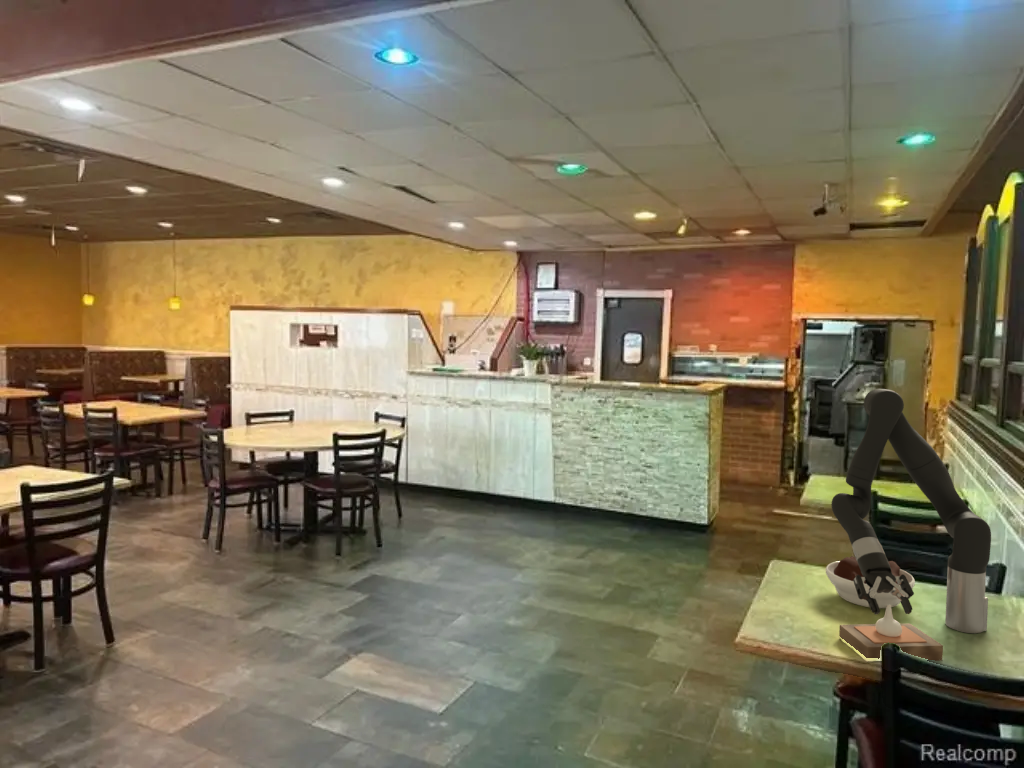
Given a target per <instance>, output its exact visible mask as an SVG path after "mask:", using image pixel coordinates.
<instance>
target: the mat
mask: <svg viewBox="0 0 1024 768" xmlns="http://www.w3.org/2000/svg"><path fill="white" fill-rule="evenodd" d="M901 627H902V634H901V635H900V636H898V637H888V636H884V635H882V634H880V633H878V632H877V630H876V627H875V626H854V628H855V629H857V630H858V631H859V632H860V633H862V634H863V635H864V636H866V637H867V638H868V639H869V640H871V641H872V642H873V643H888V642H889V643H925V642H927V641H926V640H924V639H923V638H921V637H920V636H918V635H917V634H915V633H914V632H912V631H911V630H910V629H908V628H907V627H905V626H901Z"/></svg>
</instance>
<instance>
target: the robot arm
mask: <svg viewBox="0 0 1024 768" xmlns="http://www.w3.org/2000/svg"><path fill="white" fill-rule="evenodd" d="M904 406H905V403H904V399H903V398H902V396H901V395H900V394H899V393H897V392H896V391H895V390H892V389H885V388H875V389H872V390H870V391H868V392H867V393H866V394H865V396H864V399H863V408H864V411H865V412H866V414H867V415H868V423H867V426H866V430H865V433H864V435H863V437H862V439H861V441H860V443H859V445H858V446H857V449H856V450H855V451H854V454H853V455H852V458H851V461H850V465H849V466H848V470H847V474H846V477H845V483H846V484H847V485H848V486H850V487H852V491H853V492H852V494H850V493H846V492H845V493H844V492H840V493H836V494H835V495H834V496H833V498H832V499H831V504H830V505H831V510H832V513H833V515H834V517H835V518H836V520H837V521H838V523H839V524H840V525H841V528H843V530H844V531H845V532H846V534H847V536H848V540H849V542H850V543H851V547H852V551H853V554H854V557H855V558H856V560H857V562H858V565H859V568H860V570H861V573H862V575H863V576H864V577H861V576H860V575H857V576H856V577H855V578H854V579H853V581H854V585H855V588H856V591H857V594H858V597H859V599H861V600H862V599H864V600H866V601H868V604H869V606H870V607H869V609H870V610H871V613H873V615H874V616H875V615H879V614H880V613H881V608H879V606H878V604H877V601H876V599H875V598H874V596H875V593H876V592H877V593H882V592H884V593H889V592H890V593H891V594H892V595H894V596H896V597H897V598H899V599H900V600H901V601H900V604H901V607H902V609H903V612H904V613H905V615H910V614H911V613H912V611H913V606H912V604H911V601H910V599H911V597H913V596H914V594H915V593H914V590H913V589H912V588H911V586H910V584H909V582H908V580H907V578H906V576H905V575H903V574H902V575H901V576H896V577H895V576H894V575H893V574H892V572H891V567H890V565H889V562H888V561H889V559H888V558H887V556H886V553H885V551H884V549H883V545H882V544H881V542H880V541H879V539H878V537H877V534H876V531H875V529H874V527H873V526H872V524H871V523H870V522H868V521H867V520H864V519H865V518H867V516H868V515H869V513H870V510H871V507H872V506H871V505H872V485H873V482H874V479H875V475H876V473H877V470H878V467H879V463H880V460H881V457H882V455H883V452H884V450H885V447H886V444H887V442H889V443H890V445H891V447H892V449H893V450H894V452H895V454H896V456H897V457H898V458H899V460H900V462H901V463H902V465H903V466H904V467H903V468H904V469H905V470H906V472H907V473H908V475H909V476H910V478H911V479H912V480H913V481H914V483H915V484H916V486H917V487H918V488H919V490H920V491H921V492H922V494H923V495H924V496H925V497H926V498H927V499H928V501H929V502H930V503H931V504H932V506H933V507H934V509H935V510H936V512H937V514H938V516H939V518H940V520H941V522H942V524H943V526H944V527H945V530H946V532H947V534H948V535H949V536H950V537H951V538H952V541H953V542H952V553H951V554H950V555H949V556H948V558H947V575H946V579H947V580H946V596H945V597H946V598H945V599H946V600H945V625H946V626H947V627H949V629H953V630H954V631H955V630H956V631H958V632H962V633H967V634H981V633H983V632H986V631H987V630H988V612H989V611H988V610H989V609H988V608H989V598H988V597H987V596H986V579H987V577H986V575H987V566H988V564H989V563H990V555H991V546H992V531H991V527H990V526H989V524H988V522H987V521H986V520H985V519H983V518H981V517H980V516H979V515H976V514H975V512H973V511H972V510H971V509H970V507H969V506H968V505H967V504H966V502H965V501H964V500H963V499H962V498H961V496H960V495H959V494H958V492H957V490H956V488H955V486H954V483H953V480H952V478H951V475H950V473H949V471H948V468H947V467H946V465H945V463H944V462H943V460H942V459H941V457H940V456H939V454H938V453H937V451H935V449H934V448H933V447H932V445H931V444H929V443H928V441H927V440H926V439H925V438H924V437H923V436H922V435H920V433H919V432H918V431H917V430H916V429H915V428H914V427H913V426H912V425H911V424H910V423H909V421H908V419H907V418H906V416H905V413H903V411H904ZM864 582H865V583H866V584H867V585H868V586H869V587H870V588H869V590H868V593H866V590H865V587H864ZM895 582H897V583H898V584H896V583H895ZM899 585H900V586H899ZM893 588H895V589H896V590H893Z"/></svg>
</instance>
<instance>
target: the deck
mask: <svg viewBox="0 0 1024 768" xmlns="http://www.w3.org/2000/svg"><path fill="white" fill-rule="evenodd" d="M875 625H876V623H865V624H863V623H861V624H860V623H858V624H857V623H856V624H839V631H838V632H839V636H840V637H841V638H842V639H844V640H845V641H846V642H847V643H849V644H850V645H851V646H853V647H854V648H855V649H856V650H858V651H859V652H860V653H861V654H863V655H864V656H865V657H866V658H878V659H879V658H880V650H881V646H882V645H883V644H884V643H873V642H872V641H871V640H869V639H868V638H867V637H866V636H864V635H863V634H862V633H860V632H859V631H858V630H857V629H855V628H854V626H875ZM900 625H901V626H905V627H907V628H908V629H910V630H911V631H912V632H914V633H915V634H917V635H918V636H920V637H921V638H923V639H924V640H926V641H927V642H925V643H895V644H897V645H898V646H900V648H901V650H902V651H903V652H906V653H908V654H911V655H914V656H918V657H921V658H925V659H928V660H935V661H934V662H939V661H940V662H943V660H944V659H943V658H944V645H943V644H942V643H940V642H938V641H937V640H936V639H934V638H933V637H931V636H930V635H928V634H927V633H925V632H923V631H922V630H921V629H919V628H918V627H916V626H915V625H913V624H911V623H900ZM839 636H838V637H839Z"/></svg>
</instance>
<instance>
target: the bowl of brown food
mask: <svg viewBox="0 0 1024 768" xmlns="http://www.w3.org/2000/svg"><path fill="white" fill-rule="evenodd" d="M888 562H889V565H890V567H891V572H892V574H893V575H894V576H895V577H896V576H901V575H902V574H903V575H905V576H906V578H907V580H908V582H909V584H910V586H911V588H912V590H913V589H914V586H915V583H916V581H915V578H914V577H913V575H912V574H911V573H909V572H907V571H905V570H904V569H901V567H900V566H899V565H898V564H897V562H896V561H893V560H888ZM825 574H826V576H827V578H828V580H829V581H830V583H832V585H833V586H834V588H835V590H836V593H837V594H838V596H839V597H840V598H842V599H843V600H845V601H846V602H849V603H851V604H855V605H857V606H859V607H860V606H862V607H866V608H870V606H869V604H868V601H866V600H864V599H862V600H861V599H859V597H858V594H857V591H856V588H855V585H854V581H853V579H854V578H855V577H856V576H857V575H860V576H861V577H864V576H863V575H862V573H861V570H860V568H859V565H858V562H857V560H856V558H855V556H853V555H852V556H846V557H844V558H843V559H841V560H839V561H838V560H837V561H833V562H830V563H829V564H827V565H826V567H825ZM895 583H896V584H898V583H897V582H895ZM899 586H900V585H899ZM864 587H865V590H866V593H868V590H869V588H870V587H869V586H868V585H867V584H866V583H865V582H864ZM893 590H896V589H895V588H893ZM874 598H875V599H876V601H877V604H878V606H879V609H886V607H887V605H889V604H890V605H892V606H891V608H894V607H897V606H898V605H900V604H901V602H900V601H901V600H900V599H899V598H897V597H896V596H894V595H892V594H891V593H890V592H889V593H884V592H882V593H877V592H876V593H875V596H874Z"/></svg>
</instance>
